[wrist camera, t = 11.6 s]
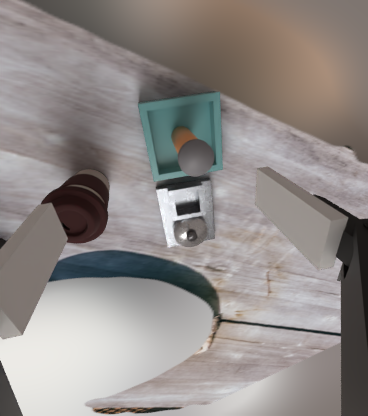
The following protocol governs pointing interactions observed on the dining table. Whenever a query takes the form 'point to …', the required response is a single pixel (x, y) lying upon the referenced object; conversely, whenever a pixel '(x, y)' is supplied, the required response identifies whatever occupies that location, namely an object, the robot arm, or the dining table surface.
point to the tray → (174, 117)
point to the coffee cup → (82, 205)
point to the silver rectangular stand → (187, 212)
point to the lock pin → (192, 152)
